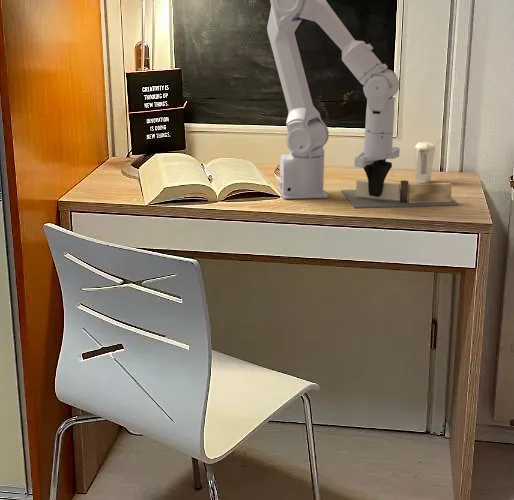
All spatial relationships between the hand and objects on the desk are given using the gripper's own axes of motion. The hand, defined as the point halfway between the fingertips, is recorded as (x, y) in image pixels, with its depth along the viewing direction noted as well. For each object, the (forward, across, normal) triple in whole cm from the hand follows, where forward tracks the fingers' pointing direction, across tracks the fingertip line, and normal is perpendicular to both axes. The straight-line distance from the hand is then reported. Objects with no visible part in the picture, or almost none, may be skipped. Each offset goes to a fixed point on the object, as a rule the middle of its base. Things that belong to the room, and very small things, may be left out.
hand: (375, 195), depth 189 cm
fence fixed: (+1, +7, -8) cm, 10 cm away
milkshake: (+2, +23, +1) cm, 23 cm away
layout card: (+1, +6, -2) cm, 7 cm away
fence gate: (+1, +2, 0) cm, 2 cm away
